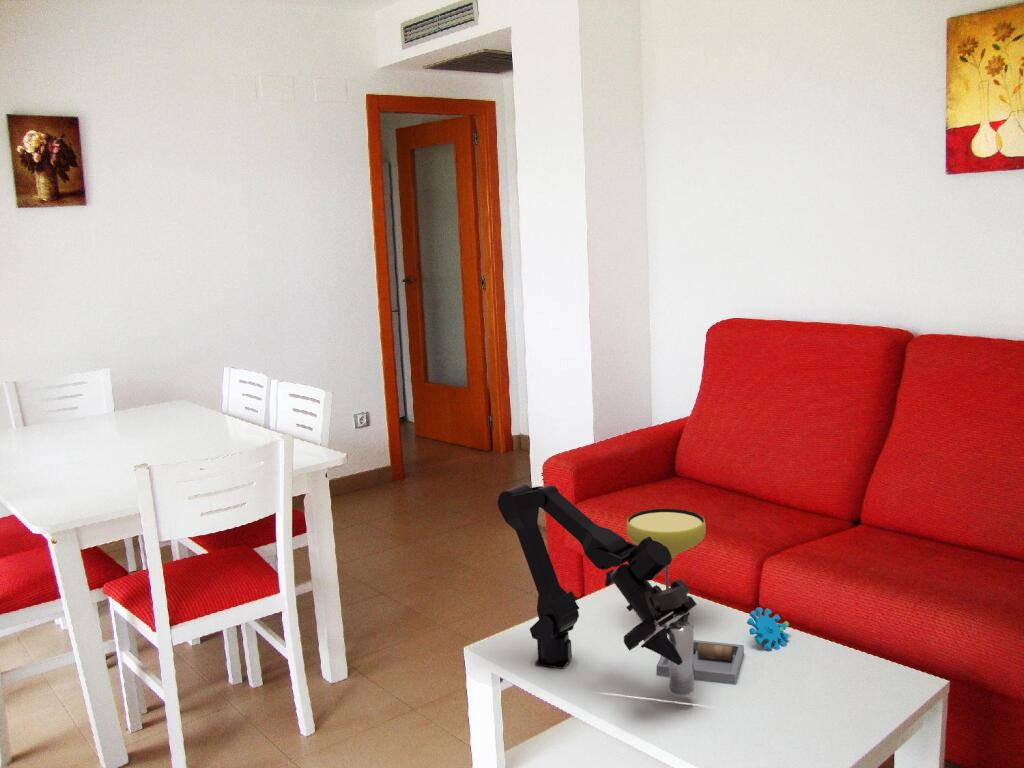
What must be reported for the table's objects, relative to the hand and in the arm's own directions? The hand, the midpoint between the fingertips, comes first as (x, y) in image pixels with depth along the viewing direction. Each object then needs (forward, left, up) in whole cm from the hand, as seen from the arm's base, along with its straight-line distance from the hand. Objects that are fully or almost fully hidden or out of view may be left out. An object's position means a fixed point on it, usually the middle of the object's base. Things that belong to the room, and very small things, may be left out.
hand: (687, 659), depth 183 cm
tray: (0, +17, -10) cm, 20 cm away
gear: (+12, +32, -10) cm, 35 cm away
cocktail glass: (-11, +38, -10) cm, 41 cm away
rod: (+2, +21, -9) cm, 23 cm away
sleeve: (-1, +1, -7) cm, 7 cm away
